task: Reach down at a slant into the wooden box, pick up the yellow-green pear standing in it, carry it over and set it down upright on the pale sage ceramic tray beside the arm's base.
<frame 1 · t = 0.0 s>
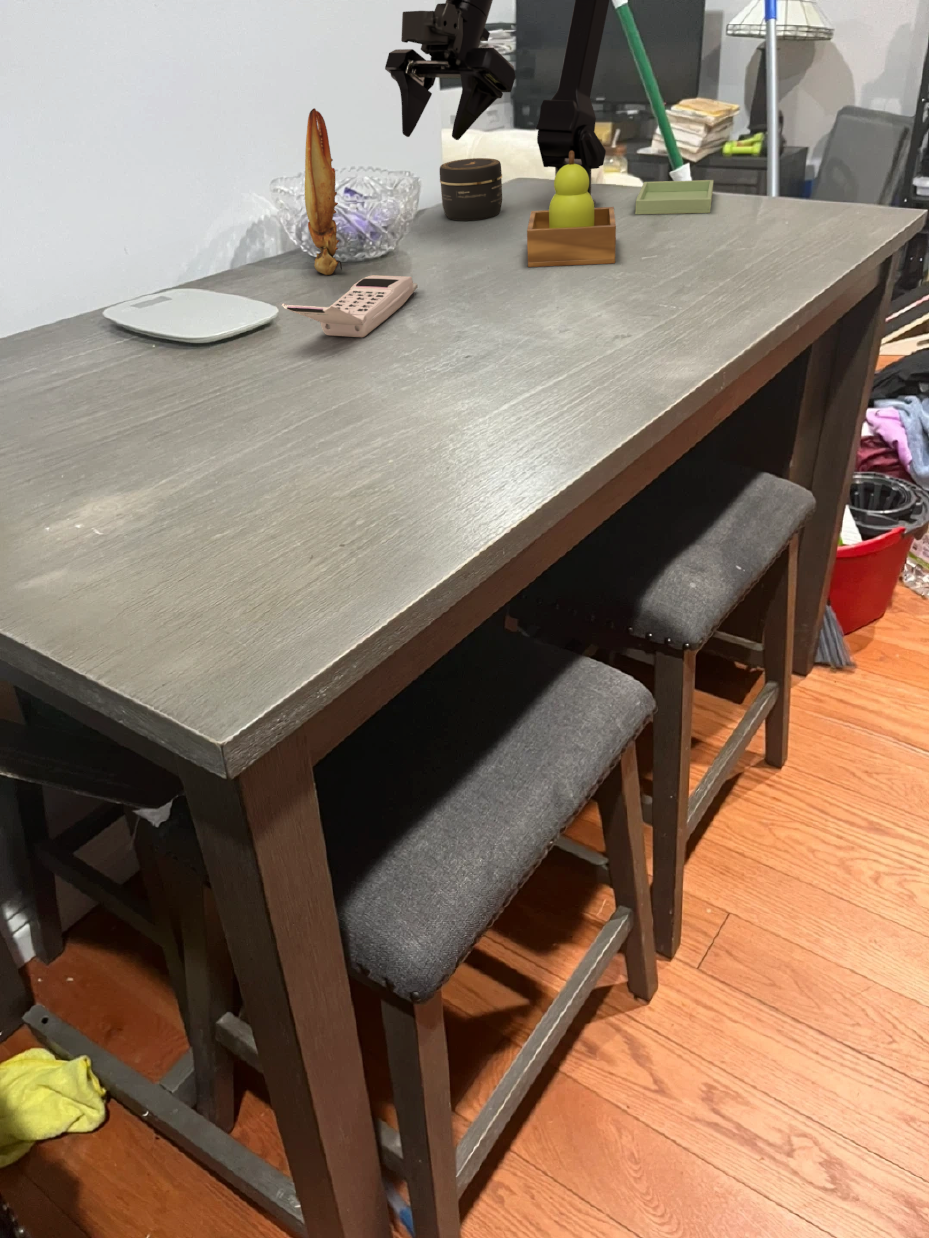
hand: (429, 137, 120), 15 cm above the table, tool tilted 35°, fingers open, 9 cm apart
mobile phone: (361, 325, 105), on the table
tray: (675, 203, 144), on the table
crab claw: (327, 277, 124), on the table
pear: (571, 249, 123), point 1 cm above the table, touching wooden box
wooden box: (571, 254, 124), on the table
jar: (473, 216, 148), on the table
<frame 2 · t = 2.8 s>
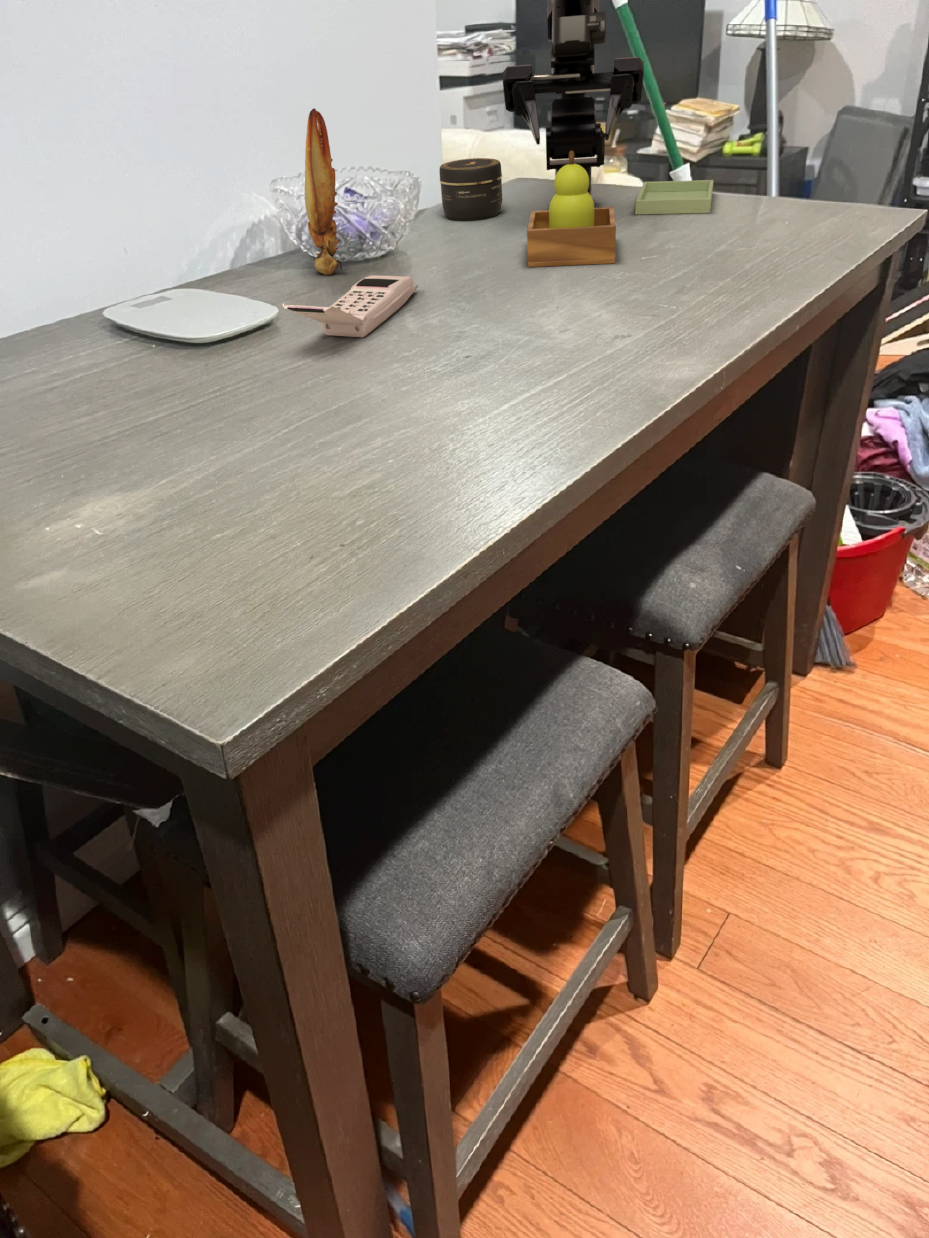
hand: (572, 140, 122), 13 cm above the table, tool tilted 45°, fingers open, 9 cm apart
nothing on the table moved.
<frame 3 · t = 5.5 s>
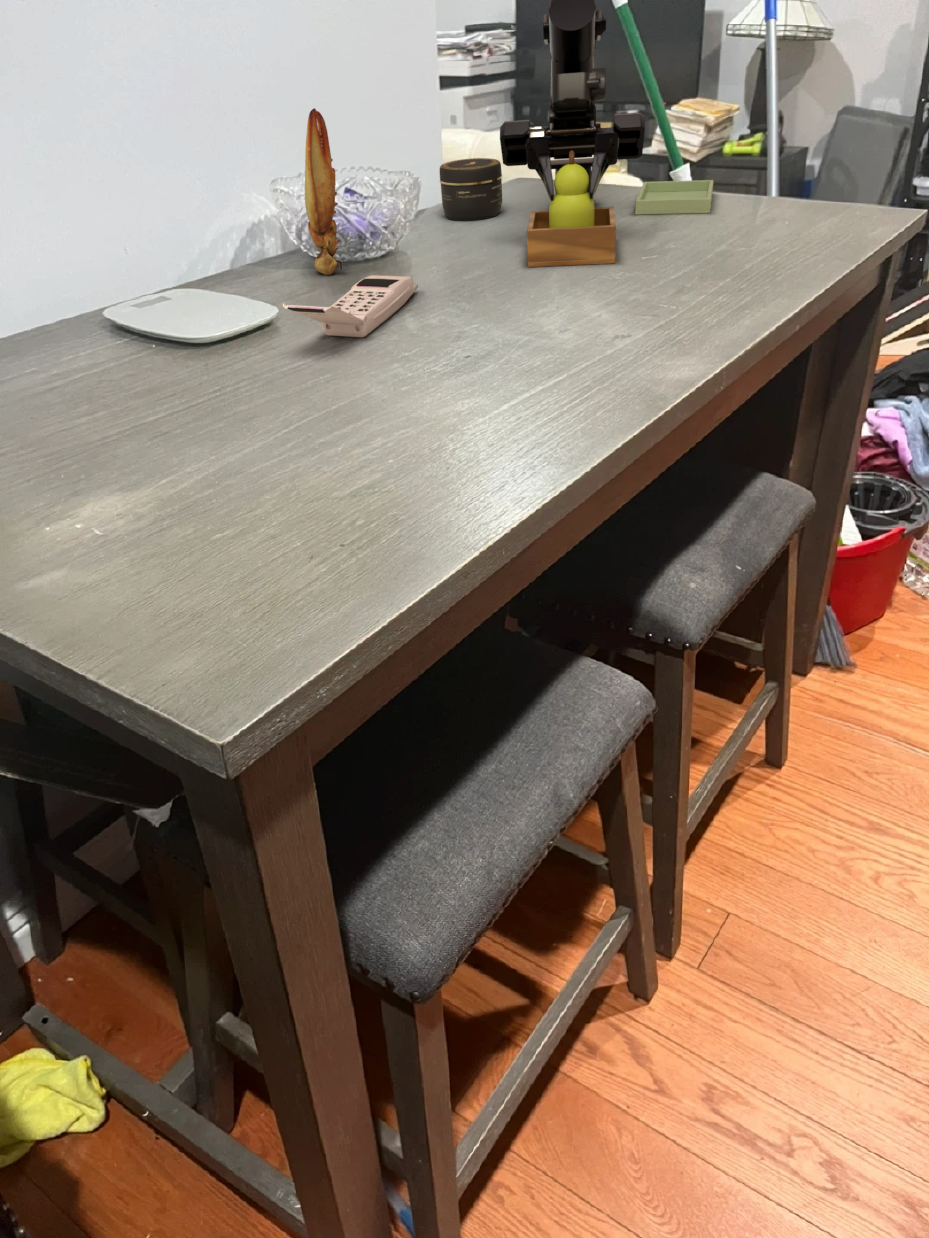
hand: (571, 198, 118), 7 cm above the table, tool tilted 45°, fingers closed on pear, 5 cm apart
pear: (571, 249, 123), point 1 cm above the table, touching wooden box, gripper
everything else where it was.
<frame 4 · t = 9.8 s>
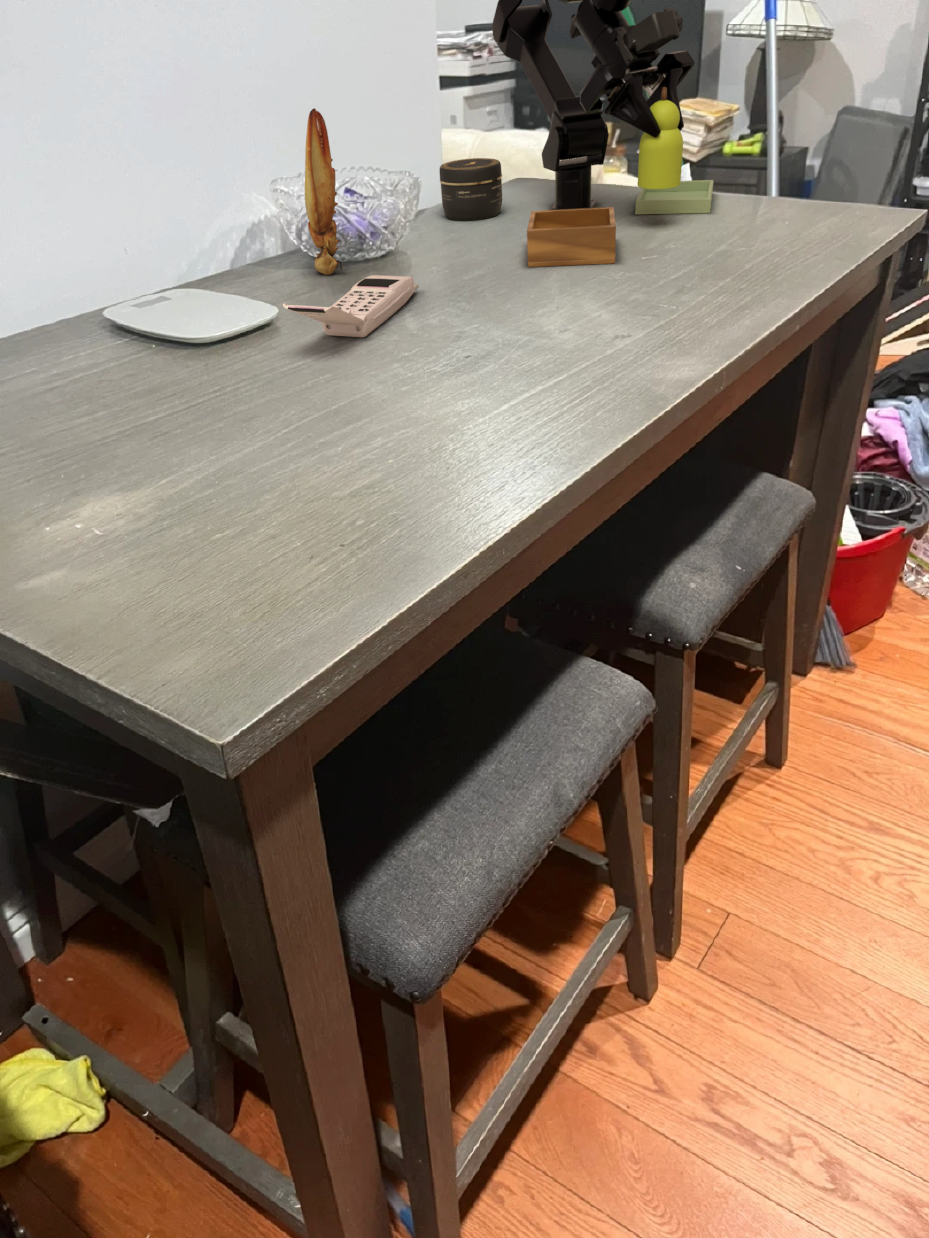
hand: (669, 132, 125), 12 cm above the table, tool tilted 45°, fingers closed on pear, 5 cm apart
pear: (658, 184, 129), point 6 cm above the table, touching gripper
everything else where it was.
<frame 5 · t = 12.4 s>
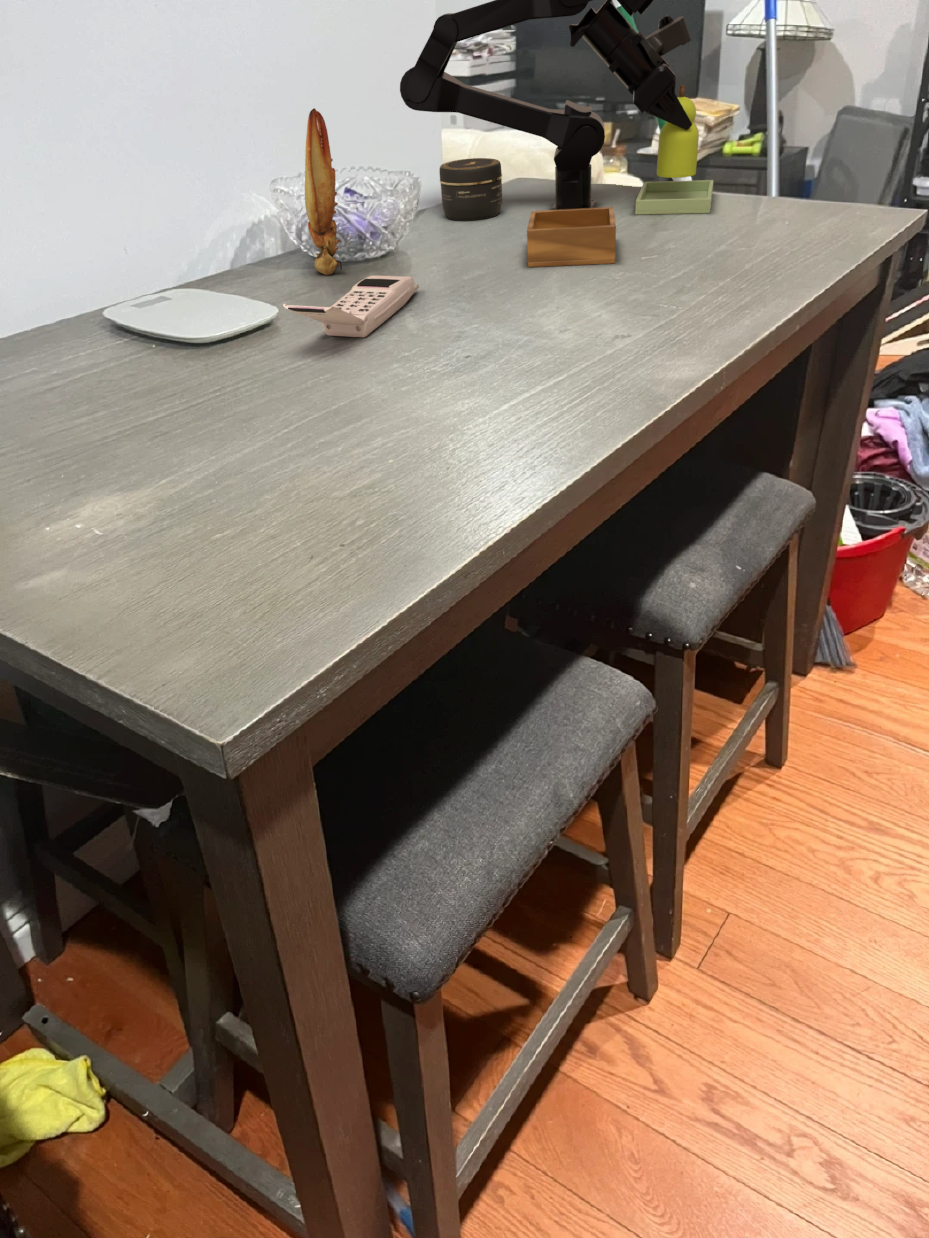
hand: (688, 125, 138), 11 cm above the table, tool tilted 45°, fingers closed on pear, 5 cm apart
pear: (676, 174, 142), point 4 cm above the table, touching gripper
everything else where it was.
when the fingers open (7 cm above the table, at t = 14.1 s): pear stays where it is, resting on tray.
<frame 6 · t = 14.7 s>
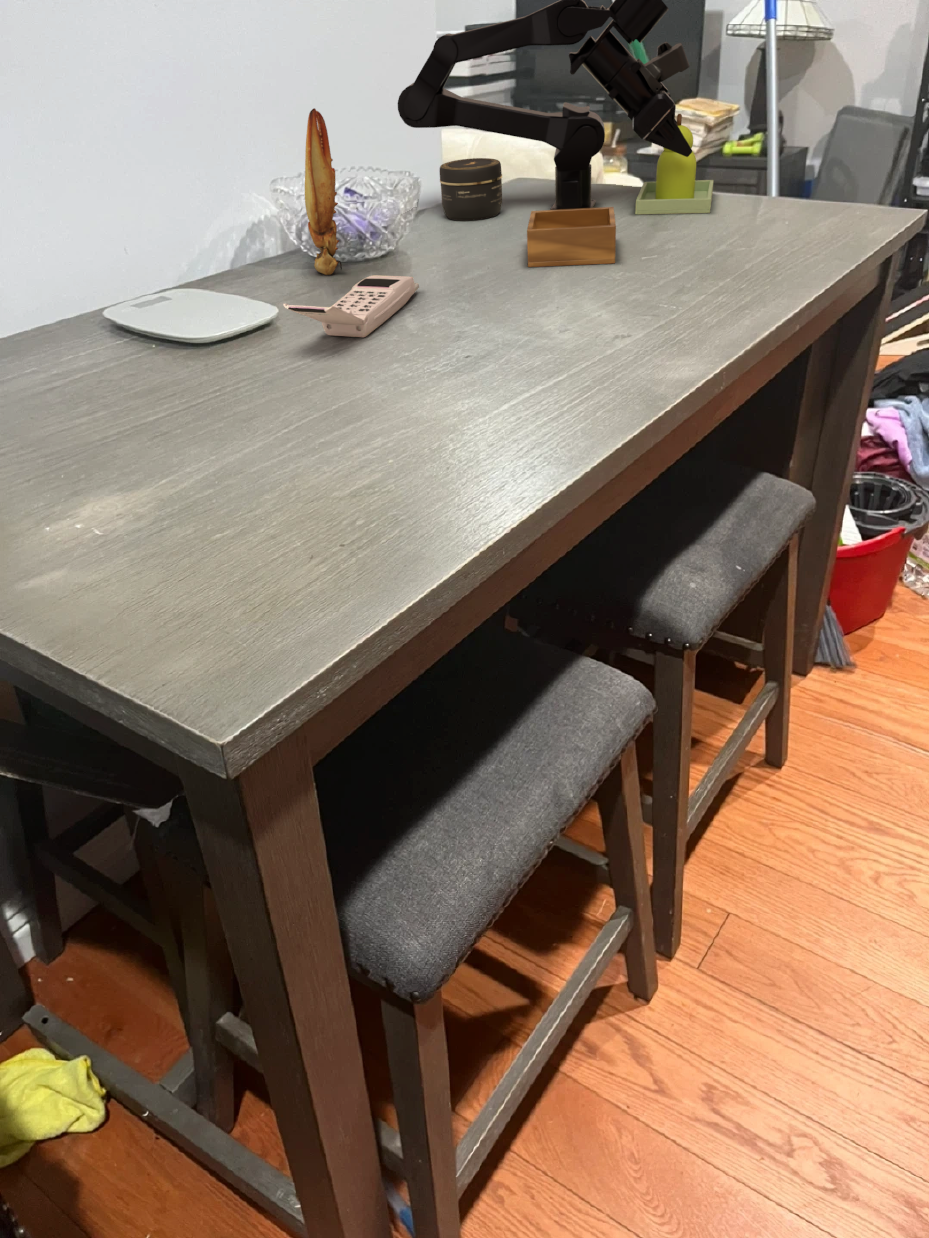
hand: (687, 149, 140), 8 cm above the table, tool tilted 45°, fingers open, 9 cm apart
pear: (674, 200, 144), resting on tray
everything else where it was.
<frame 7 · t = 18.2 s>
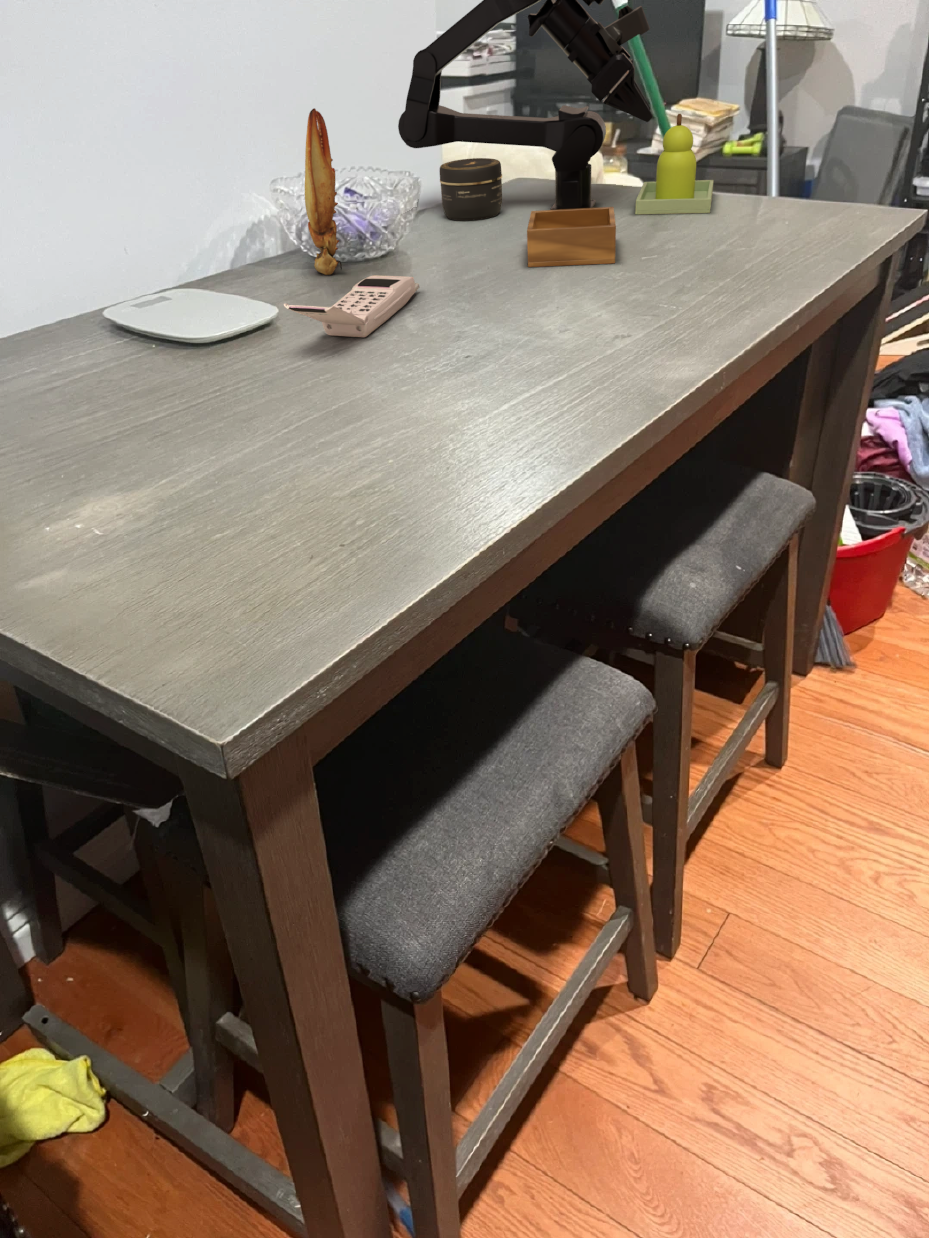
hand: (649, 115, 137), 13 cm above the table, tool tilted 45°, fingers open, 9 cm apart
nothing on the table moved.
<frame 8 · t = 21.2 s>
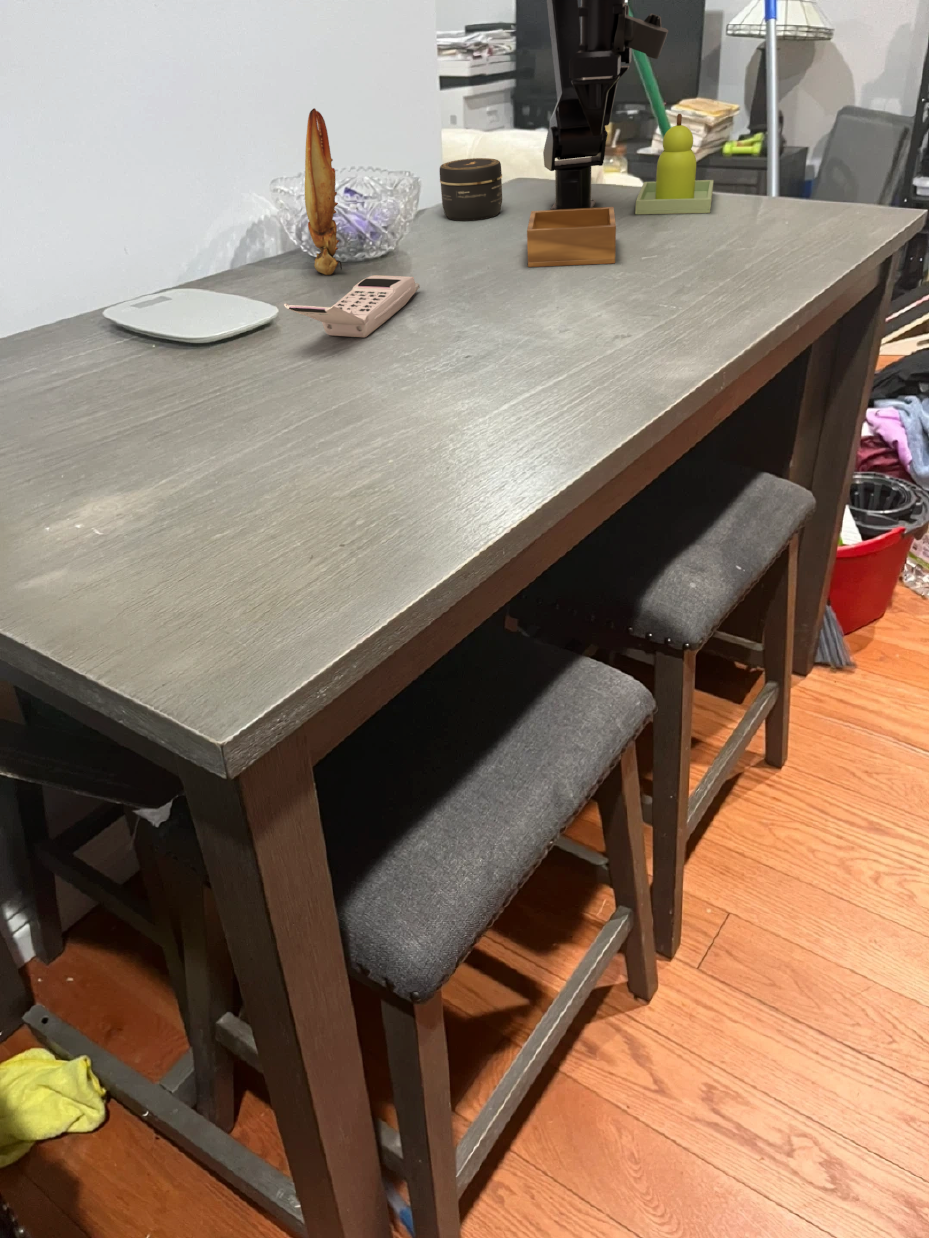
hand: (601, 130, 127), 13 cm above the table, tool pointing down, fingers open, 9 cm apart
nothing on the table moved.
at the end: pear inside the target area in the tray (0.1 cm from its centre), point 0.5 cm above the tray's base; pear tilted 0°; the gripper is holding nothing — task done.
